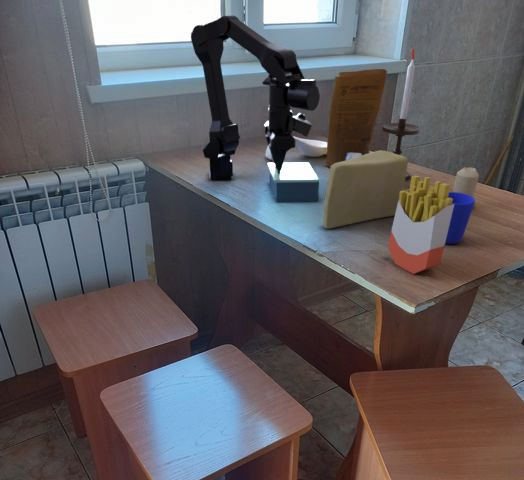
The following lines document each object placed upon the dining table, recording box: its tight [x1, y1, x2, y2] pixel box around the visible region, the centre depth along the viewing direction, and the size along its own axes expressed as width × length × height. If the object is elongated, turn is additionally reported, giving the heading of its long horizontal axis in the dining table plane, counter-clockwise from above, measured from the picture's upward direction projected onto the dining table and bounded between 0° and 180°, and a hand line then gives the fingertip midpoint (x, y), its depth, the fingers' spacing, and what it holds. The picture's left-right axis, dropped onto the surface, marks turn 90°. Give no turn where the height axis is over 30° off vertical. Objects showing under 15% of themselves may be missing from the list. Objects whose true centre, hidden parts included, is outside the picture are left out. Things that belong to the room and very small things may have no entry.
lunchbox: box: [268, 173, 320, 203], centre depth 145 cm, size 11×16×5 cm
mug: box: [445, 191, 476, 245], centre depth 117 cm, size 8×12×10 cm
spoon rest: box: [264, 135, 327, 161], centre depth 175 cm, size 24×12×7 cm, turn 114°
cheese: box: [322, 150, 409, 230], centre depth 125 cm, size 22×10×15 cm, turn 127°
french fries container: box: [388, 175, 454, 275], centre depth 103 cm, size 5×11×18 cm, turn 31°
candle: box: [452, 166, 480, 198], centre depth 136 cm, size 6×6×10 cm
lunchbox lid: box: [266, 161, 320, 183], centre depth 142 cm, size 12×16×5 cm
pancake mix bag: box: [325, 68, 388, 168], centre depth 161 cm, size 7×19×28 cm, turn 109°
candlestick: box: [382, 46, 421, 181], centre depth 150 cm, size 11×11×35 cm
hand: (277, 167), depth 142 cm, fingers closed on lunchbox lid, 6 cm apart
